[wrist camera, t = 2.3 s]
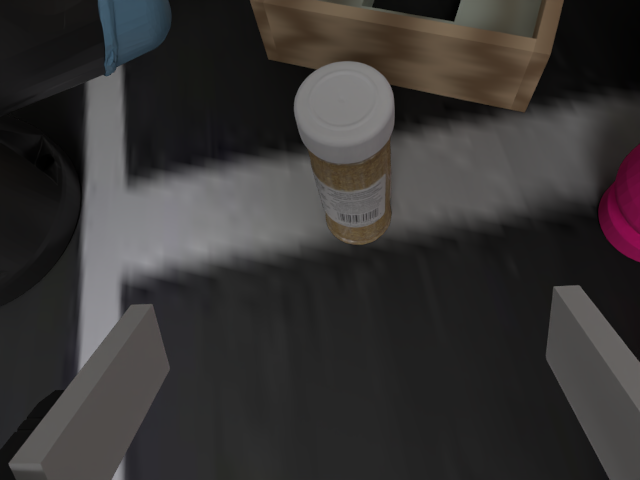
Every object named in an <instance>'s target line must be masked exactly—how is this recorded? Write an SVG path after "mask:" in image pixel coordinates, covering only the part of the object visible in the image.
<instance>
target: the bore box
mask: <svg viewBox="0 0 640 480" xmlns="http://www.w3.org/2000/svg"><path fill="white" fill-rule="evenodd" d="M563 1H564V0H461V2H460V5H459V8H458V12H457V15H456V18H455V21H454V22H452V21H446V20H441V19H435V18H429V17H424V16H418V15H412V14H406V13H401V12H395V11H389V10H383V9H378V8H372V5H373V3H374V0H250V2H251V6H252V9H253V12H254V15H255V18H256V21H257V25H258V28H259V31H260V34H261V37H262V40H263V44H264V47H265V50H266V53H267V56H268V59H269V60H274V61H279V62H284V63H289V64H293V65H298V66H303V67H308V68H313V69H319V68H321V67H323V66H325V65H328V64H331V63H335V62H342V61H353V62H360V63H363V64H366V65H369V66H371V67H373V68H374V69H376V70H377V71H379V72H380V73H381V74H382V75H383V76H384V77H385V78H386V80H387V81H388V83H389V84H390V85H395V86H399V87H404V88H409V89H414V90H419V91H424V92H428V93H433V94H438V95H443V96H448V97H452V98H457V99H462V100H467V101H472V102H477V103H481V104H486V105H491V106H496V107H501V108H506V109H510V110H515V111H520V112H525V111H526V108H527V106H528V104H529V102H530V99H531V97H532V95H533V93H534V90H535V88H536V86H537V84H538V82H539V79H540V77H541V75H542V73H543V70H544V68H545V66H546V64H547V61H548V59H549V57H550V54H551V50H552V46H553V42H554V38H555V34H556V30H557V26H558V21H559V17H560V13H561V9H562V5H563Z"/></svg>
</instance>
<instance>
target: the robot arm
mask: <svg viewBox="0 0 640 480" xmlns="http://www.w3.org/2000/svg"><path fill="white" fill-rule="evenodd" d="M171 17H172V16H171V8H170V4H169V0H0V306H2V305H4V304H6V303H8V302H10V301H12V300H14V299H16V298H17V297H19V296H20V295H22V294H24V293H25V292H26V291H28V290H29V289H30V288H32V287H33V286H34V285H35V284H36V283H38V282H39V281H40V280H41V279H42V278H43V277H44V276H45V275H46V274H47V273H48V272H49V270H50V269H51V268H52V267H53V266H54V264H55V263H56V262H57V260H58V259H59V258H60V256H61V255H62V253H63V252H64V250H65V248H66V246H67V245H68V243H69V241H70V239H71V236H72V234H73V232H74V229H75V226H76V223H77V219H78V215H79V209H80V196H81V194H80V184H79V179H78V175H77V172H76V169H75V167H74V165H73V163H72V161H71V159H70V158H69V157H68V155H67V154H66V153H65V152H64V150H63V149H62V148H60V147H59V146H58V145H57V144H56V143H55V142H54V141H52V140H51V139H50V138H49V137H48V136H47V135H45V134H44V133H43V132H42V131H40V130H39V129H37V128H36V127H34V126H32V125H30V124H28V123H26V122H24V121H22V120H19V119H16V118H14V117H11V116H8V115H6V114H8V113H10V112H13V111H15V110H18V109H20V108H23V107H25V106H28V105H30V104H32V103H35V102H37V101H40V100H42V99H45V98H47V97H50V96H52V95H55V94H57V93H59V92H62V91H64V90H67V89H69V88H72V87H74V86H77V85H79V84H82V83H84V82H86V81H89V80H91V79H94V78H96V77H99V76H101V75H105V76H109V75H111V73H114V71H115V70H116V67H118V66H120V65H122V64H124V63H126V62H128V61H130V60H132V59H134V58H137V57H139V56H141V55H143V54H145V53H147V52H149V51H151V50H153V49H155V48H157V47H158V46H159V45H160V44H161V43H162V42H163V41H164V40H165V38H166V36H167V34H168V32H169V29H170V26H171ZM546 359H547V361H548V363H549V365H550V367H551V369H552V371H553V373H554V374H555V376H556V378H557V380H558V382H559V384H560V386H561V388H562V390H563V392H564V394H565V395H566V397H567V399H568V401H569V403H570V405H571V407H572V409H573V411H574V413H575V414H576V416H577V418H578V420H579V422H580V424H581V426H582V428H583V430H584V432H585V433H586V435H587V437H588V439H589V441H590V443H591V445H592V447H593V449H594V451H595V452H596V454H597V456H598V458H599V460H600V462H601V464H602V466H603V468H604V470H605V471H606V473H607V475H608V477H609V479H610V480H640V362H639V361H638V360H637V358H636V357H635V356H634V355H633V353H632V352H631V351H630V350H629V348H628V347H627V346H626V344H625V343H624V342H623V341H622V339H621V338H620V337H619V336H618V334H617V333H616V332H615V330H614V329H613V328H612V327H611V325H610V324H609V323H608V321H607V320H606V319H605V318H604V316H603V315H602V314H601V313H600V311H599V310H598V309H597V307H596V306H595V305H594V304H593V302H592V301H591V300H590V299H589V297H588V296H587V295H586V293H585V292H584V291H583V290H582V288H581V287H580V286H579V285H577V286H554V288H553V297H552V306H551V315H550V324H549V333H548V342H547V351H546ZM169 370H170V367H169V363H168V360H167V356H166V352H165V349H164V345H163V341H162V337H161V334H160V330H159V326H158V323H157V319H156V315H155V312H154V308H153V304H140V305H131V306H130V307H129V308H128V309H127V311H126V312H125V313H124V315H123V316H122V317H121V319H120V320H119V321H118V322H117V324H116V325H115V326H114V328H113V329H112V330H111V331H110V333H109V334H108V335H107V337H106V338H105V339H104V341H103V342H102V343H101V344H100V346H99V347H98V348H97V350H96V351H95V352H94V353H93V355H92V356H91V357H90V359H89V360H88V361H87V363H86V364H85V365H84V366H83V368H82V369H81V370H80V372H79V373H78V374H77V375H76V377H75V378H74V379H73V381H72V382H71V383H70V385H69V386H68V387H67V388H66V390H55V391H54V392H53V393H51V394H50V395H49V396H47V397H46V398H45V399H43V400H42V401H41V402H39V403H38V404H37V406H36V407H35V408H34V409H33V410H32V412H31V413H30V414H29V415H28V417H27V420H24V421H23V423H22V424H21V425H20V426H19V428H18V429H17V432H15V433H14V434H13V435H12V436H11V437H10V439H9V440H8V441H7V442H6V444H5V445H4V446H3V447H2V448H1V450H0V480H111V479H112V478H113V476H114V474H115V472H116V470H117V468H118V466H119V464H120V462H121V461H122V459H123V457H124V455H125V453H126V451H127V449H128V447H129V445H130V443H131V442H132V440H133V438H134V436H135V434H136V432H137V430H138V428H139V426H140V425H141V423H142V421H143V419H144V417H145V415H146V413H147V411H148V409H149V408H150V406H151V404H152V402H153V400H154V398H155V396H156V394H157V392H158V391H159V389H160V387H161V385H162V383H163V381H164V379H165V377H166V375H167V373H168V372H169Z"/></svg>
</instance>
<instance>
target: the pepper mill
mask: <svg viewBox="0 0 640 480" xmlns="http://www.w3.org/2000/svg"><path fill="white" fill-rule="evenodd" d="M598 217H599V222H600V226H601V229H602V231H603V233H604V235H605V236H606V238H607V239H608V241H609V242H610V243H611V244H612V245H613V246H614V247H615V248H616V249H617V250H618V251H620V252H621V253H623V254H624V255H626V256H627V257H629V258H631V259H633V260H635V261H638V262H640V144H639V145H638V146H636V147H635V148H634V149H633V150H632V151H631V152H630V153H629V154H628V155H627V156H626V157H625V159H624V160H623V162H622V163H621V165H620V167H619V170H618V173H617V176H616V180H615V182H614V183H613V184H612V185H611V186H610V187H609V188H608V189H607V190H606V192H605V193H604V195H603V196H602V198H601V201H600V204H599V209H598Z"/></svg>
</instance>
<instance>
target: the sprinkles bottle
mask: <svg viewBox="0 0 640 480" xmlns="http://www.w3.org/2000/svg"><path fill="white" fill-rule="evenodd" d="M294 114H295V119H296V123H297V127H298V130H299V134H300V137H301V139H302V141H303V143H304V145H305V146H306V147H307V148H308V152H309V156H310V159H311V166H312V170H313V173H314V177H315V180H316V184H317V187H318V191H319V195H320V198H321V201H322V205H323V208H324V210H325V212H326V222H327V225H328V228H329V229H330V231H331V232H332V234H333V235H334V236H336V237H337V238H338V239H339V240H341V241H343V242H345V243H347V244H353V245H358V244H360V245H363V244H367V243H370V242H373V241H375V240H376V239H378V238H379V237H380V236H381V235H383V234H384V232H385V231H386V229H387V228H388V226H389V224H390V221H391V208H390V198H391V161H390V158H391V157H390V154H391V151H390V150H391V148H390V137H391V134H392V131H393V128H394V119H395V109H394V96H393V92H392V88H391V86H390V84H389V83H388V81H387V80H386V78H385V77H384V76H383V75H382V74H381V73H380V72H379V71H377V70H376V69H374V68H373V67H371V66H369V65H366V64H363V63H360V62H353V61H342V62H335V63H331V64H328V65H325V66H323V67H321V68H319V69H317V70H316V71H314V72H313V73H312V74H310V75H309V76H308V77H307V78H306V79H305V80H304V81H303V83H302V84H301V86H300V87H299V89H298V91H297V94H296V96H295V101H294Z"/></svg>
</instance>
